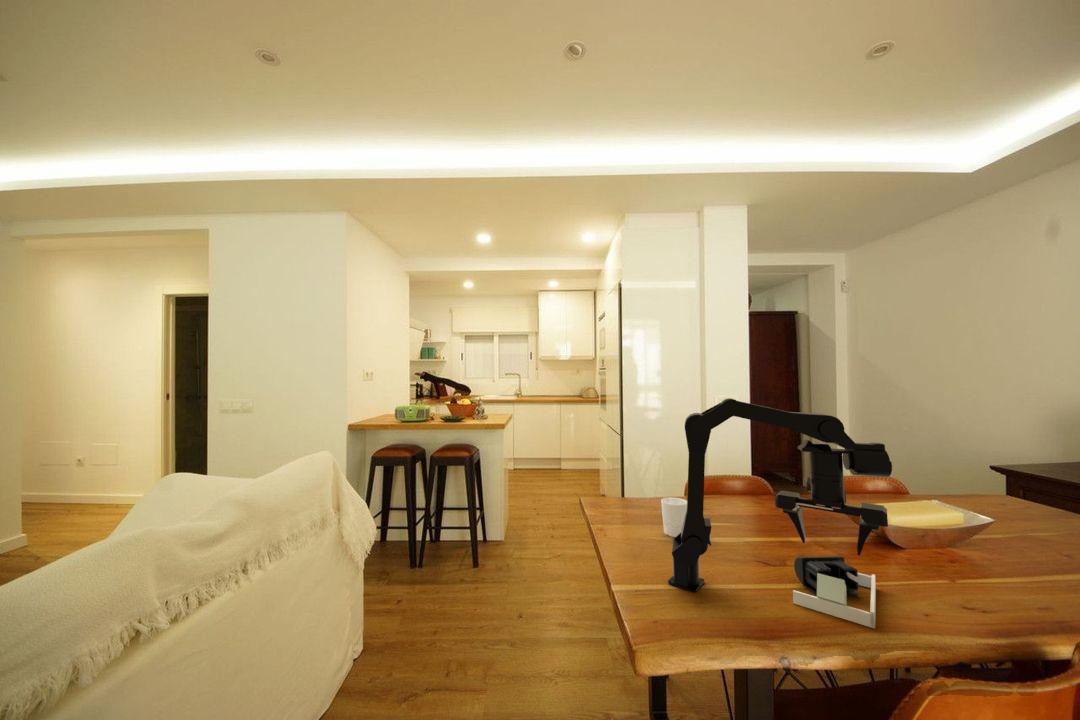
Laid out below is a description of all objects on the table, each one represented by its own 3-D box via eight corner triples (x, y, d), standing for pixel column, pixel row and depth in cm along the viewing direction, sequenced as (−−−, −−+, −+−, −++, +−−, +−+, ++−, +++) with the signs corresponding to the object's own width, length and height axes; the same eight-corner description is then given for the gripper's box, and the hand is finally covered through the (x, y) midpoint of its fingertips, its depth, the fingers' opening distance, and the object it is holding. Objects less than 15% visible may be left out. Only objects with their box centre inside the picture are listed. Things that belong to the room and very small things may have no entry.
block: (846, 610, 79) (844, 603, 77) (819, 602, 82) (816, 595, 80) (846, 587, 82) (844, 580, 79) (820, 580, 85) (817, 573, 82)
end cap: (835, 580, 92) (833, 551, 92) (861, 597, 85) (859, 565, 85) (794, 581, 91) (792, 552, 92) (816, 598, 84) (815, 566, 85)
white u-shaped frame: (875, 628, 73) (874, 612, 74) (793, 603, 82) (792, 588, 82) (875, 588, 88) (875, 574, 88) (806, 570, 97) (805, 558, 97)
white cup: (684, 540, 116) (683, 506, 116) (658, 534, 120) (657, 501, 121) (691, 532, 122) (690, 500, 122) (667, 527, 127) (666, 495, 127)
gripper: (884, 473, 82) (889, 548, 81) (782, 462, 94) (785, 527, 93) (885, 483, 74) (890, 567, 73) (773, 469, 86) (776, 541, 85)
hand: (830, 548), depth 81 cm, fingers open, 9 cm apart
